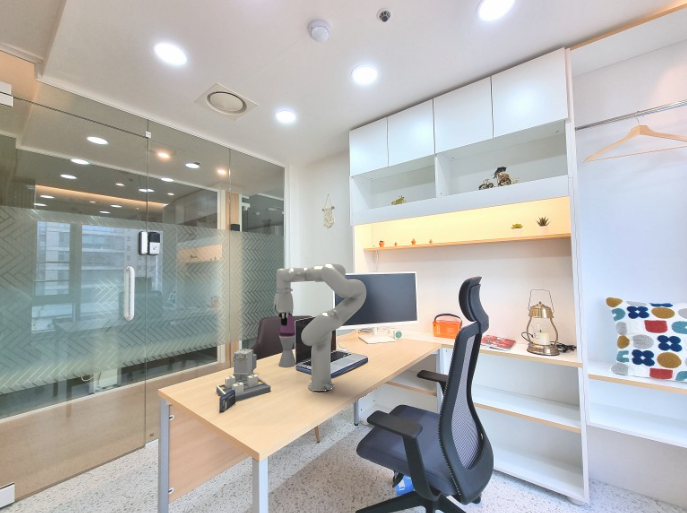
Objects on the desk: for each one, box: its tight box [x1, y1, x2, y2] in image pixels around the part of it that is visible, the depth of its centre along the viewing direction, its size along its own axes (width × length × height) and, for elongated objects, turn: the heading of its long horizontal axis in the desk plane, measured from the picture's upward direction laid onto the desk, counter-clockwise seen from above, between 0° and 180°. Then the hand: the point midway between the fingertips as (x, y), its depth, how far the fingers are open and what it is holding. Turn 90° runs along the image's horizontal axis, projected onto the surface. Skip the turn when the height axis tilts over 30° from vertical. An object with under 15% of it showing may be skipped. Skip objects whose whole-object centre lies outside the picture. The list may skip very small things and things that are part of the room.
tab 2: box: [232, 382, 244, 395], centre depth 131 cm, size 3×4×5 cm
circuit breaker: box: [232, 348, 258, 381], centre depth 156 cm, size 8×14×15 cm, turn 174°
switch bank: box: [215, 377, 272, 403], centre depth 138 cm, size 17×20×3 cm
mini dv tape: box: [218, 390, 236, 413], centre depth 122 cm, size 8×2×6 cm, turn 164°
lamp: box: [278, 313, 296, 368], centre depth 178 cm, size 11×11×40 cm
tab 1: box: [224, 375, 235, 388], centre depth 139 cm, size 3×4×5 cm
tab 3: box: [247, 373, 259, 386], centre depth 141 cm, size 3×4×5 cm
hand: (284, 325), depth 155 cm, fingers closed
